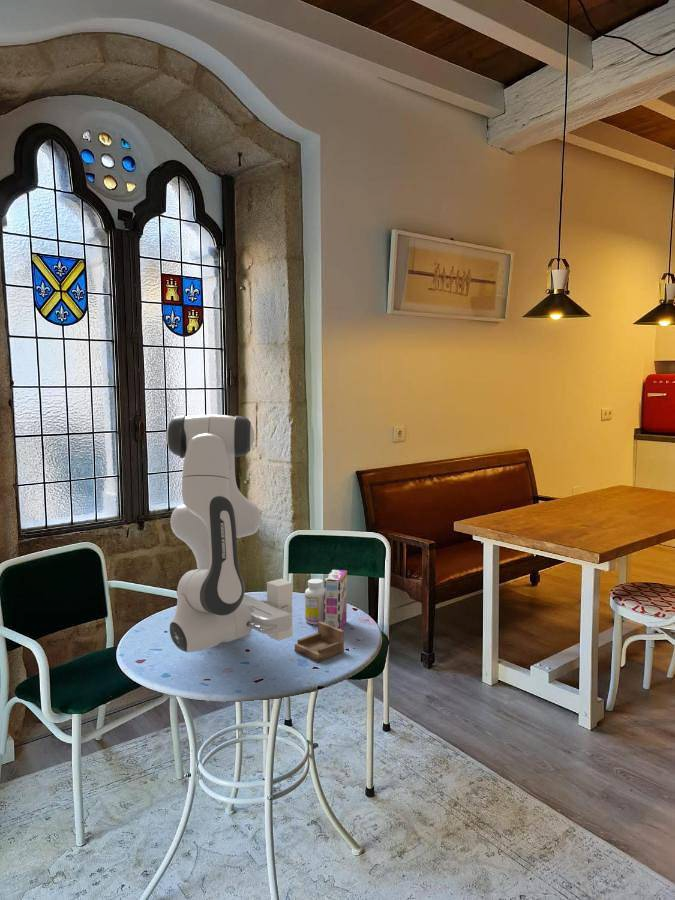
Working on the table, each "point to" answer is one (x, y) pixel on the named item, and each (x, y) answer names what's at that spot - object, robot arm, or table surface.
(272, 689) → the table surface
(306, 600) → the supplement bottle
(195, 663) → the table surface
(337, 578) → the candy bar box
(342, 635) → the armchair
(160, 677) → the table surface
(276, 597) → the cream block
